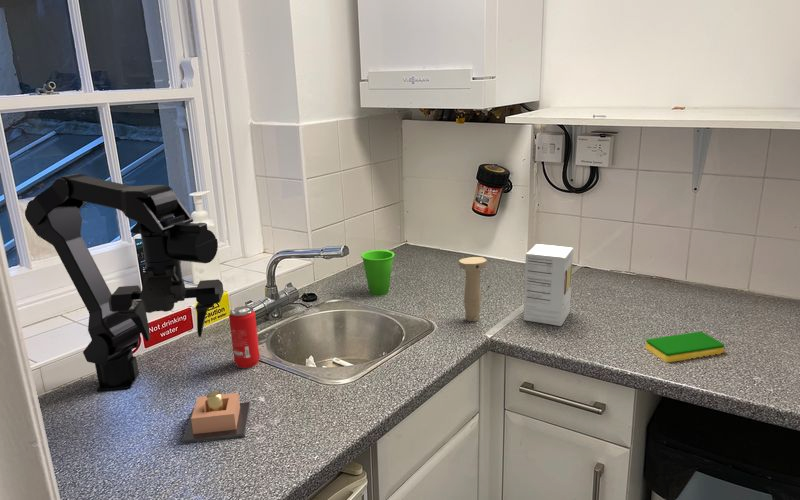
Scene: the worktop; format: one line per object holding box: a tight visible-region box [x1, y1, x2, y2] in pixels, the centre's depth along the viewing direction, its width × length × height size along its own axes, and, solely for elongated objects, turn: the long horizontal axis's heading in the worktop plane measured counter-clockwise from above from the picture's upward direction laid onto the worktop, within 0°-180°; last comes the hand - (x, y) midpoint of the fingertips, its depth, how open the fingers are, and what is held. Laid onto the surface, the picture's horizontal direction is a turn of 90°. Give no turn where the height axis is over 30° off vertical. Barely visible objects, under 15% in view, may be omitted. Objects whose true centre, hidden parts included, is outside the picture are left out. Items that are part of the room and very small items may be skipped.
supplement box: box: [523, 243, 574, 327], centre depth 141 cm, size 10×9×17 cm
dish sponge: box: [645, 331, 725, 363], centre depth 125 cm, size 7×14×2 cm, turn 104°
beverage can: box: [228, 305, 260, 369], centre depth 123 cm, size 5×5×12 cm
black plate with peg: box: [182, 390, 251, 444], centre depth 103 cm, size 10×10×6 cm
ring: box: [191, 392, 241, 434], centre depth 103 cm, size 7×7×3 cm
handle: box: [458, 256, 488, 323], centre depth 141 cm, size 5×6×15 cm
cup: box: [360, 249, 395, 297], centre depth 161 cm, size 9×9×11 cm
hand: (174, 338), depth 110 cm, fingers open, 9 cm apart
